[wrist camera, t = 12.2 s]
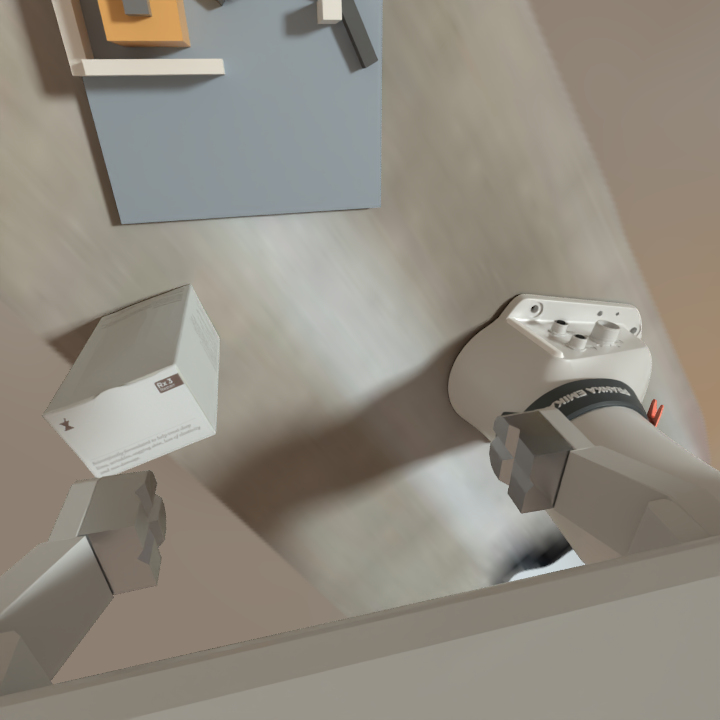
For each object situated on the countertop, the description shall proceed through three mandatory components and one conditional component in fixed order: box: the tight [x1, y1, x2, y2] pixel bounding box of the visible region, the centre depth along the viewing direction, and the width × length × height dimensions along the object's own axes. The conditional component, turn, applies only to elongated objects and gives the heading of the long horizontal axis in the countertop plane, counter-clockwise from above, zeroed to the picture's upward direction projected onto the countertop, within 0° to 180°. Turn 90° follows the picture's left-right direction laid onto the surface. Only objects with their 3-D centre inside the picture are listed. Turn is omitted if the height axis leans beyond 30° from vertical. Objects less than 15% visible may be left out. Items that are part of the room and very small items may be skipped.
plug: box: [98, 0, 191, 47], centre depth 27 cm, size 4×4×6 cm
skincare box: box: [42, 284, 220, 478], centre depth 34 cm, size 8×6×15 cm
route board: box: [52, 0, 382, 224], centre depth 31 cm, size 20×18×4 cm
